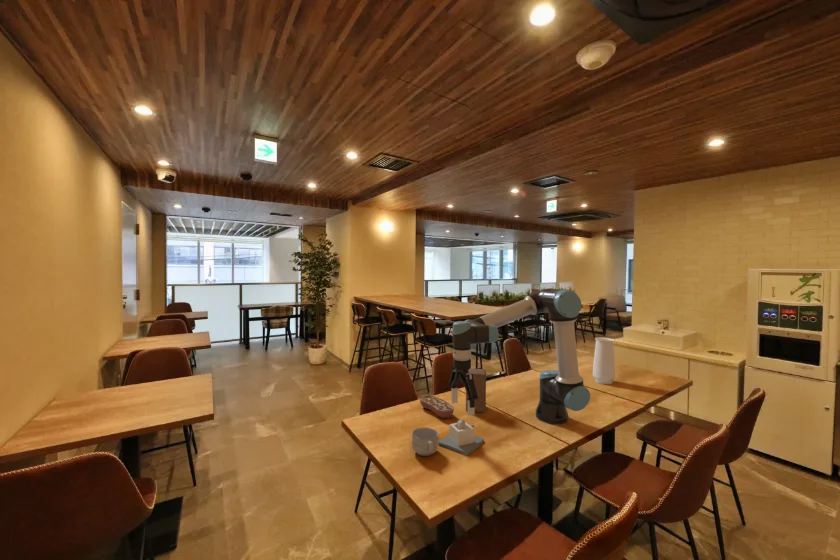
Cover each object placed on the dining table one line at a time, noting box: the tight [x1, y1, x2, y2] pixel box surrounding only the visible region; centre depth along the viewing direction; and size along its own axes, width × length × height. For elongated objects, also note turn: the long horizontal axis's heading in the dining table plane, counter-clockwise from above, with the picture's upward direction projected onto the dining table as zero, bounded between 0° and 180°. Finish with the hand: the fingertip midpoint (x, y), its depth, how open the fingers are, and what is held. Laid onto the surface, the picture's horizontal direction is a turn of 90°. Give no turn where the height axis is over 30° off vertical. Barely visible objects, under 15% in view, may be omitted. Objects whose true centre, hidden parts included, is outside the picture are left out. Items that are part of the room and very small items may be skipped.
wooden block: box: [465, 367, 487, 413], centre depth 183 cm, size 10×10×20 cm
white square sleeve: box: [449, 421, 475, 446], centre depth 147 cm, size 9×7×6 cm
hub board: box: [438, 419, 485, 456], centre depth 147 cm, size 14×14×9 cm
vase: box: [592, 336, 616, 385], centre depth 226 cm, size 13×13×28 cm
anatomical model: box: [419, 395, 455, 419], centre depth 179 cm, size 23×10×5 cm, turn 34°
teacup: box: [411, 426, 440, 457], centre depth 138 cm, size 14×11×8 cm
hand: (462, 408), depth 147 cm, fingers open, 13 cm apart
